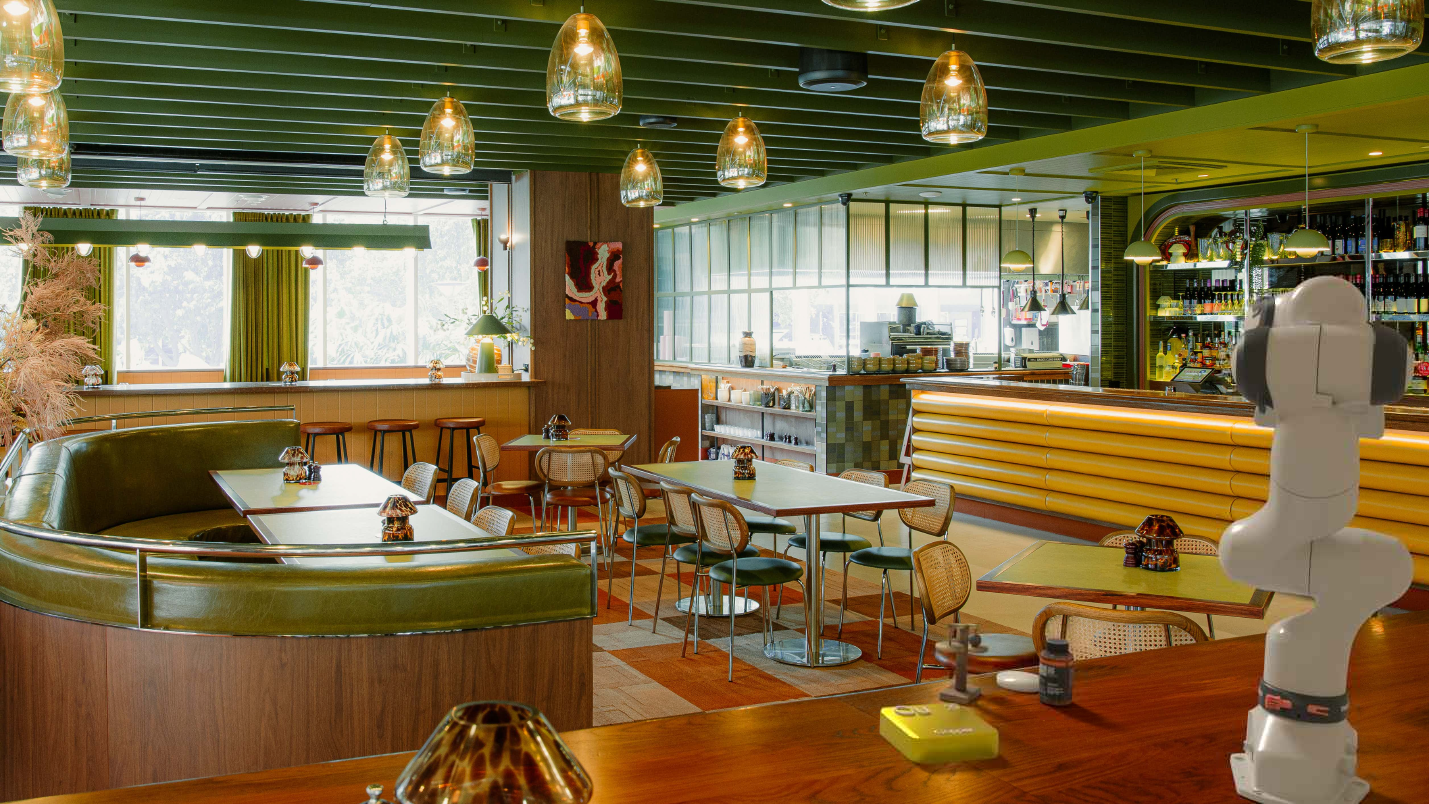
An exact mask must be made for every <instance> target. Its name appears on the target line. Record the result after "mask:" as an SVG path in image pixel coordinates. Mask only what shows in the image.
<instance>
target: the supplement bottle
mask: <svg viewBox="0 0 1429 804" xmlns="http://www.w3.org/2000/svg"><path fill="white" fill-rule="evenodd" d="M1069 645H1070V642H1069V641H1068V640H1067V639H1065V638H1059V637H1048V638H1047V639H1046V640H1045V649H1044V650H1042V651H1041V652H1040V654H1039V668H1038V670H1039V672H1038V676H1039V692H1037V693H1038V700H1039V701H1040V702H1041V703H1043V704H1046V705H1049V706H1054V707H1066V706H1070V704H1072V703H1073V694H1074V691H1073V690H1074V689H1073V688H1074V670H1075V669H1074V667H1075V657H1074V655H1073V654H1072V653H1071V652H1070V651H1069V649H1070V646H1069Z"/></svg>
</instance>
